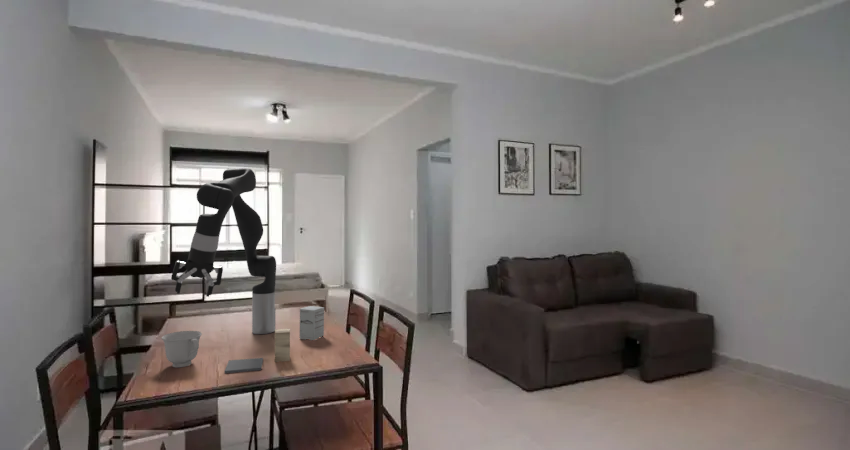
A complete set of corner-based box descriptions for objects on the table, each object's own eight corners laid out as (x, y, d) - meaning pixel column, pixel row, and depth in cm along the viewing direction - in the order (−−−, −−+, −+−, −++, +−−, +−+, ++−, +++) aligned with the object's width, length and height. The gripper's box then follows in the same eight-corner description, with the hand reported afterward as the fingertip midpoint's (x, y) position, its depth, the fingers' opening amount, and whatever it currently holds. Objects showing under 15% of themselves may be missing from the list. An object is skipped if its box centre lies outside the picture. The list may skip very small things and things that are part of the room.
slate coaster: (228, 362, 151) (228, 360, 151) (263, 359, 154) (263, 357, 154) (224, 373, 140) (224, 370, 140) (261, 370, 144) (261, 367, 144)
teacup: (178, 375, 139) (178, 343, 139) (153, 366, 146) (153, 336, 146) (214, 364, 149) (214, 335, 149) (189, 357, 157) (189, 328, 157)
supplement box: (298, 339, 181) (298, 308, 181) (309, 335, 188) (310, 305, 188) (313, 341, 178) (313, 310, 178) (324, 336, 185) (324, 306, 185)
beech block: (275, 357, 157) (275, 329, 157) (289, 356, 158) (289, 328, 158) (274, 361, 152) (274, 333, 152) (289, 360, 154) (289, 332, 153)
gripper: (227, 247, 148) (216, 292, 149) (179, 239, 141) (168, 287, 142) (228, 253, 141) (217, 301, 143) (178, 246, 134) (167, 296, 136)
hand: (193, 294), depth 143 cm, fingers open, 8 cm apart
